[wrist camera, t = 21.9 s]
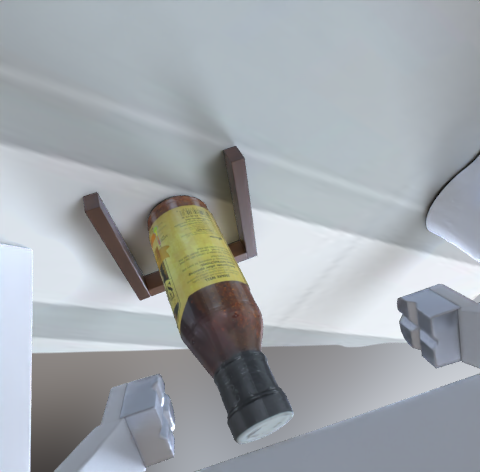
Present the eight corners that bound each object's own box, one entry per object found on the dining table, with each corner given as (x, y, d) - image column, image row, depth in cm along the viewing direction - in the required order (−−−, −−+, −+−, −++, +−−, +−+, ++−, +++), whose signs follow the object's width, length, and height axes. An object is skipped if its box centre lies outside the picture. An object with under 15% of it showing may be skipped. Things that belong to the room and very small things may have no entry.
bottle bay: (236, 145, 31) (244, 157, 30) (250, 243, 41) (257, 255, 40) (82, 196, 29) (84, 212, 28) (136, 286, 39) (140, 300, 38)
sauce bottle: (130, 216, 32) (192, 451, 19) (189, 179, 32) (291, 394, 19) (169, 252, 37) (239, 457, 24) (220, 220, 37) (318, 412, 24)
